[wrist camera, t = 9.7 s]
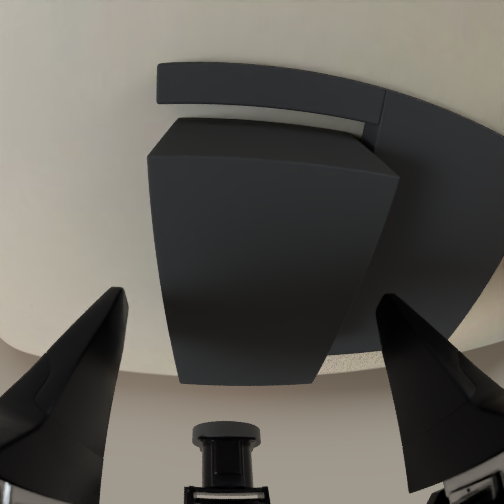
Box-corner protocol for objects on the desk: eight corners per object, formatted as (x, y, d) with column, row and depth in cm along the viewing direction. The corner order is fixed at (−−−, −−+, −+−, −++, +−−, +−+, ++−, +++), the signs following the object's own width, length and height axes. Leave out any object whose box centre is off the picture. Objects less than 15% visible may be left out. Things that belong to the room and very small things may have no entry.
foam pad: (299, 319, 16) (312, 384, 13) (186, 316, 15) (179, 384, 12) (348, 132, 10) (401, 177, 6) (177, 117, 9) (145, 156, 6)
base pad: (440, 328, 18) (446, 341, 17) (181, 338, 16) (179, 355, 15) (530, 151, 10) (545, 161, 9) (165, 62, 8) (156, 63, 7)
